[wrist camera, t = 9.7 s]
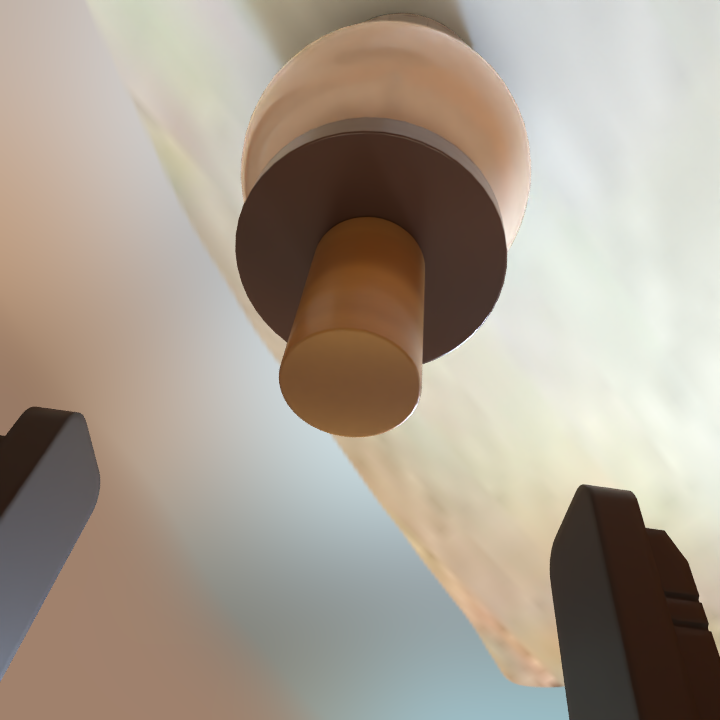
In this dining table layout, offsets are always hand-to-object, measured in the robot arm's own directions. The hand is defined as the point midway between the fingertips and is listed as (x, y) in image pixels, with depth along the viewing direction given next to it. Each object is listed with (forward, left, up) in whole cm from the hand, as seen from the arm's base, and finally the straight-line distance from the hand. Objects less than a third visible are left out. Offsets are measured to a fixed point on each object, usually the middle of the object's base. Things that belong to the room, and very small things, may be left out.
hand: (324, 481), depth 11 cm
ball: (0, 0, -13) cm, 13 cm away
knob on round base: (0, 0, -8) cm, 8 cm away
